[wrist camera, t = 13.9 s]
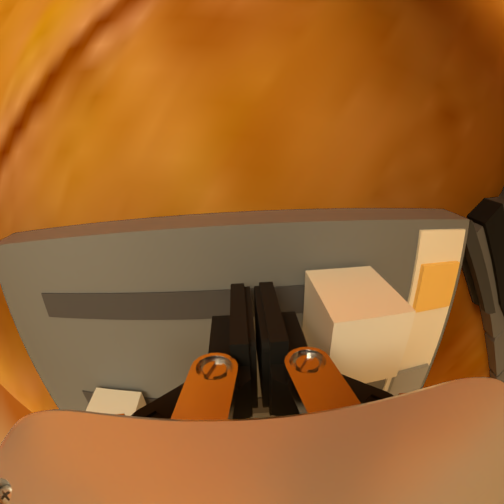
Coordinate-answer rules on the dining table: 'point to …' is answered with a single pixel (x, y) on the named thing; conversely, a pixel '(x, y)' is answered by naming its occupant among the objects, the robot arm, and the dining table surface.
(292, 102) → the dining table surface
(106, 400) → the knob
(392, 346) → the knob
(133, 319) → the switch board
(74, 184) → the dining table surface
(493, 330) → the pistol
